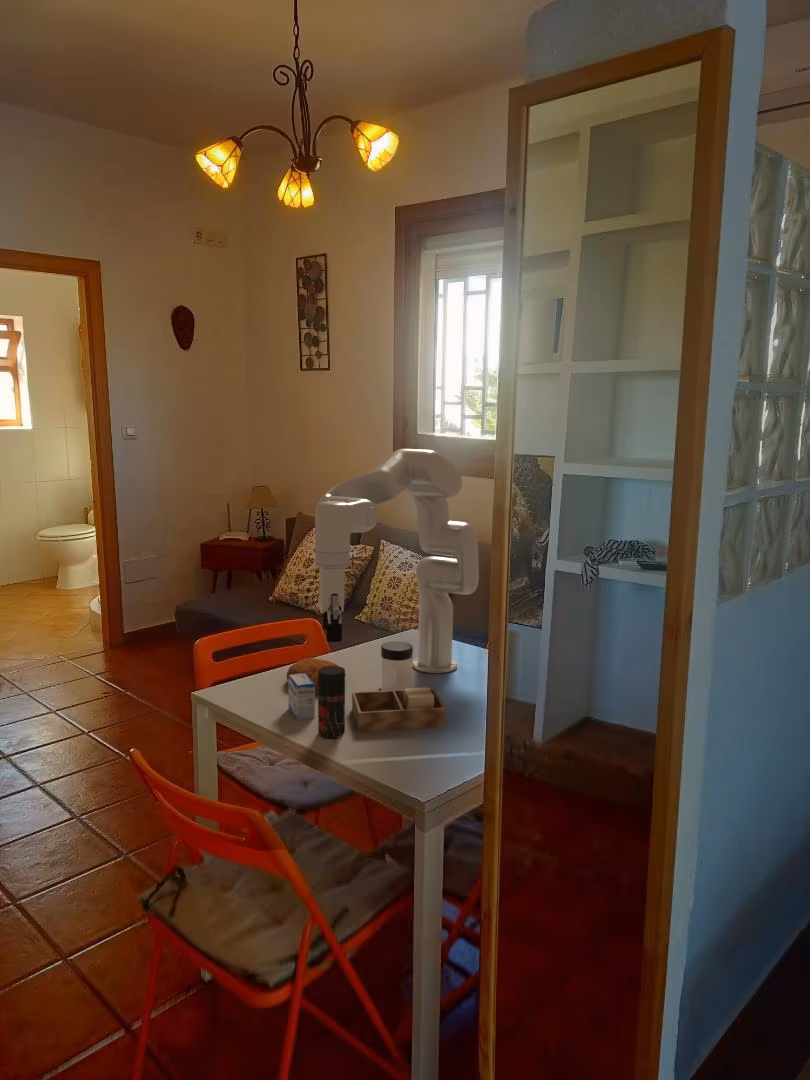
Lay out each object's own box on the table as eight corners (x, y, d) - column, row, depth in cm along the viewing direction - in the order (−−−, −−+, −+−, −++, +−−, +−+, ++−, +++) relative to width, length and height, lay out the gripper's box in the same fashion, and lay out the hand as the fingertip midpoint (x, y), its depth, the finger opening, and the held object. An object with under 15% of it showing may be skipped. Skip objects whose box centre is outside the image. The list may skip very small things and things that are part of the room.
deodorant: (347, 737, 175) (347, 673, 173) (320, 740, 174) (320, 675, 171) (341, 727, 181) (341, 664, 178) (316, 730, 179) (315, 666, 177)
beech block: (403, 712, 189) (404, 688, 188) (428, 711, 190) (428, 687, 189) (408, 722, 183) (408, 697, 182) (433, 720, 184) (434, 696, 183)
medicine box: (288, 708, 191) (287, 674, 190) (306, 706, 193) (305, 672, 192) (297, 720, 184) (296, 685, 183) (315, 718, 186) (315, 683, 185)
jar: (390, 698, 199) (390, 652, 197) (373, 688, 206) (373, 644, 204) (419, 692, 204) (420, 647, 202) (402, 682, 211) (402, 639, 209)
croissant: (306, 707, 199) (307, 678, 196) (278, 681, 211) (278, 653, 208) (354, 694, 207) (356, 666, 204) (325, 669, 219) (326, 643, 216)
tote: (358, 734, 177) (358, 713, 176) (352, 712, 190) (352, 692, 189) (445, 728, 181) (445, 708, 180) (433, 707, 193) (433, 688, 193)
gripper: (312, 551, 178) (312, 625, 181) (318, 566, 162) (317, 647, 164) (345, 551, 180) (345, 624, 183) (354, 566, 163) (353, 646, 166)
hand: (332, 635), depth 173 cm, fingers open, 9 cm apart
